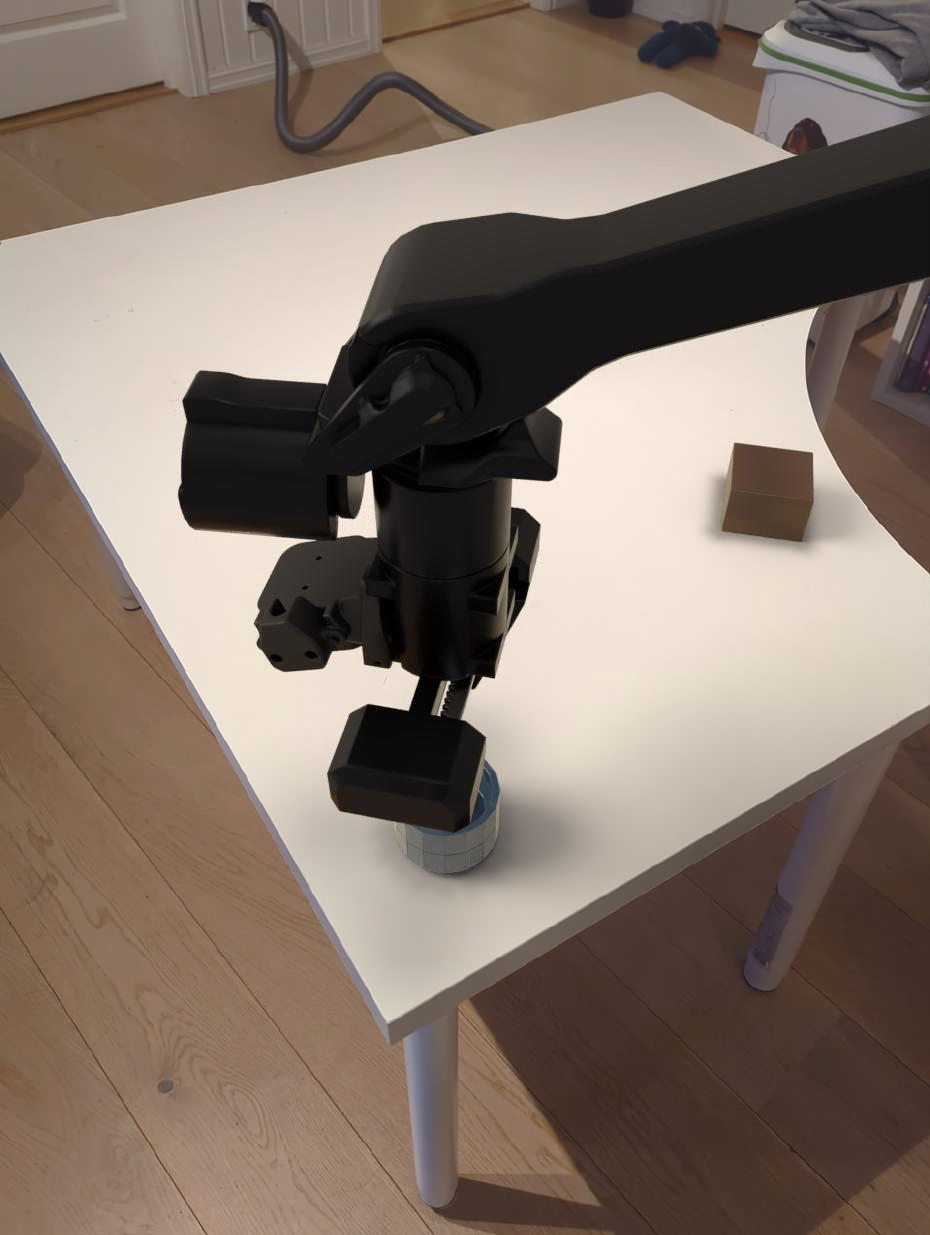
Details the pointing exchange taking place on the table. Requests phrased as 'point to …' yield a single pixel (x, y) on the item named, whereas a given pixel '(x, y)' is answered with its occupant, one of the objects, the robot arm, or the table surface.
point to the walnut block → (768, 491)
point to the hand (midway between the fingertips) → (447, 751)
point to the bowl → (456, 834)
